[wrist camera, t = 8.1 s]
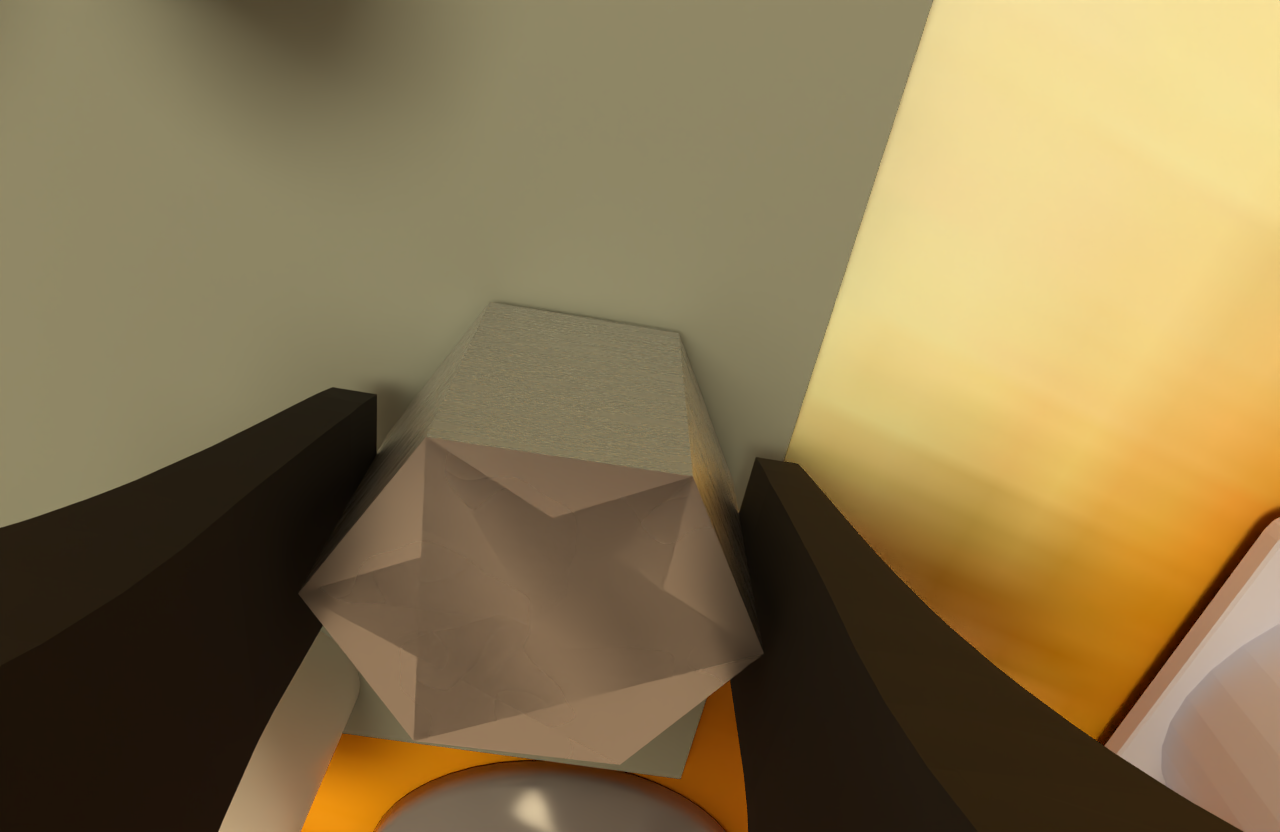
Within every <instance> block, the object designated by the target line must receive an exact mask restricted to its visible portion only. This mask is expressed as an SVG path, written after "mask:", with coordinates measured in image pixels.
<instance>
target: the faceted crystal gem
mask: <svg viewBox="0 0 1280 832" xmlns="http://www.w3.org/2000/svg"><path fill="white" fill-rule="evenodd" d="M298 594H299V595H300V597H301V598H302V599H303V600H304V602H305V603H306V604H307V605H308V607H309V608H310V609H311V611H312V612H313V613H314V614H315V616H316V617H317V618H318V620H319V621H320V622H321V623H322V625H323V626H324V627H325V628H326V630H327V631H328V632H329V634H330V635H331V636H332V637H333V639H334V640H335V641H336V643H337V644H338V645H339V646H340V648H341V649H342V650H343V651H344V653H345V654H346V655H347V657H348V658H349V659H350V660H351V662H352V663H353V664H354V666H355V667H356V668H357V669H358V671H359V672H360V673H361V675H362V676H363V677H364V678H365V680H366V681H367V682H368V683H369V685H370V686H371V687H372V689H373V690H374V691H375V692H376V694H377V695H378V696H379V698H380V699H381V700H382V701H383V703H384V704H385V705H386V706H387V708H388V709H389V710H390V712H391V713H392V714H393V715H394V717H395V718H396V719H397V721H398V722H399V723H400V724H401V726H402V727H403V728H404V729H405V731H406V732H407V733H408V735H409V736H410V737H411V738H412V740H413V741H417V742H425V743H434V744H443V745H451V746H460V747H469V748H478V749H486V750H495V751H504V752H512V753H521V754H530V755H538V756H547V757H556V758H565V759H573V760H582V761H591V762H599V763H608V764H617V765H620V764H622V763H623V762H624V761H626V760H627V759H628V758H629V757H631V756H632V755H633V754H635V753H636V752H637V751H638V750H640V749H641V748H642V747H644V746H645V745H646V744H648V743H649V742H650V741H651V740H653V739H654V738H655V737H657V736H658V735H659V734H660V733H662V732H663V731H664V730H666V729H667V728H668V727H670V726H671V725H672V724H673V723H675V722H676V721H677V720H679V719H680V718H681V717H682V716H684V715H685V714H686V713H688V712H689V711H690V710H691V709H693V708H694V707H695V706H697V705H698V704H699V703H701V702H702V701H703V700H704V699H706V698H707V697H708V696H710V695H711V694H712V693H713V692H715V691H716V690H717V689H719V688H720V687H721V686H723V685H724V684H725V683H726V682H728V681H729V680H730V679H732V678H733V677H734V676H735V675H737V674H738V673H739V672H741V671H742V670H743V669H744V668H746V667H747V666H748V665H750V664H751V663H752V662H754V661H755V660H756V659H757V658H759V657H760V656H761V655H763V654H764V652H763V646H762V641H761V635H760V630H759V624H758V618H757V613H756V607H755V602H754V596H753V590H752V585H751V579H750V573H749V569H748V564H747V559H746V553H745V547H744V541H743V535H742V529H741V523H740V517H739V512H738V506H737V500H736V495H735V489H734V484H733V479H732V476H731V473H730V471H729V468H728V465H727V462H726V460H725V457H724V454H723V452H722V449H721V446H720V443H719V441H718V438H717V435H716V433H715V430H714V427H713V424H712V422H711V419H710V416H709V414H708V411H707V408H706V406H705V403H704V400H703V397H702V395H701V392H700V389H699V387H698V384H697V381H696V378H695V376H694V373H693V370H692V368H691V365H690V362H689V360H688V357H687V354H686V351H685V349H684V346H683V343H682V341H681V338H680V335H679V333H678V332H671V331H665V330H659V329H653V328H647V327H641V326H635V325H629V324H622V323H616V322H610V321H604V320H598V319H592V318H586V317H580V316H573V315H567V314H561V313H555V312H549V311H543V310H537V309H530V308H524V307H518V306H512V305H506V304H500V303H494V302H490V303H489V304H488V305H487V306H486V308H485V309H484V310H483V311H482V313H481V314H480V315H479V317H478V318H477V319H476V320H475V322H474V323H473V324H472V326H471V327H470V328H469V329H468V331H467V332H466V333H465V334H464V336H463V337H462V338H461V340H460V341H459V342H458V343H457V345H456V346H455V347H454V348H453V350H452V351H451V352H450V354H449V355H448V356H447V357H446V359H445V360H444V361H443V362H442V364H441V365H440V366H439V368H438V369H437V370H436V371H435V373H434V374H433V375H432V377H431V378H430V379H429V380H428V382H427V383H426V384H425V385H424V387H423V388H422V389H421V391H420V392H419V393H418V394H417V396H416V397H415V398H414V399H413V401H412V402H411V403H410V405H409V406H408V407H407V408H406V410H405V411H404V412H403V413H402V415H401V416H400V417H399V419H398V420H397V421H396V422H395V424H394V425H393V426H392V427H391V429H390V431H389V432H388V434H387V436H386V438H385V440H384V441H383V443H382V445H381V447H380V448H379V450H378V452H377V455H376V456H375V458H374V460H373V462H372V463H371V465H370V467H369V469H368V470H367V472H366V474H365V476H364V477H363V479H362V481H361V483H360V484H359V486H358V488H357V489H356V491H355V493H354V495H353V497H352V498H351V500H350V502H349V504H348V505H347V507H346V509H345V511H344V513H343V514H342V516H341V518H340V520H339V521H338V523H337V525H336V527H335V529H334V530H333V532H332V534H331V536H330V538H329V539H328V541H327V543H326V545H325V546H324V548H323V550H322V552H321V554H320V555H319V557H318V559H317V561H316V562H315V564H314V566H313V568H312V570H311V571H310V573H309V575H308V577H307V579H306V580H305V582H304V584H303V586H302V587H301V589H300V591H299V593H298Z"/></svg>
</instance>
